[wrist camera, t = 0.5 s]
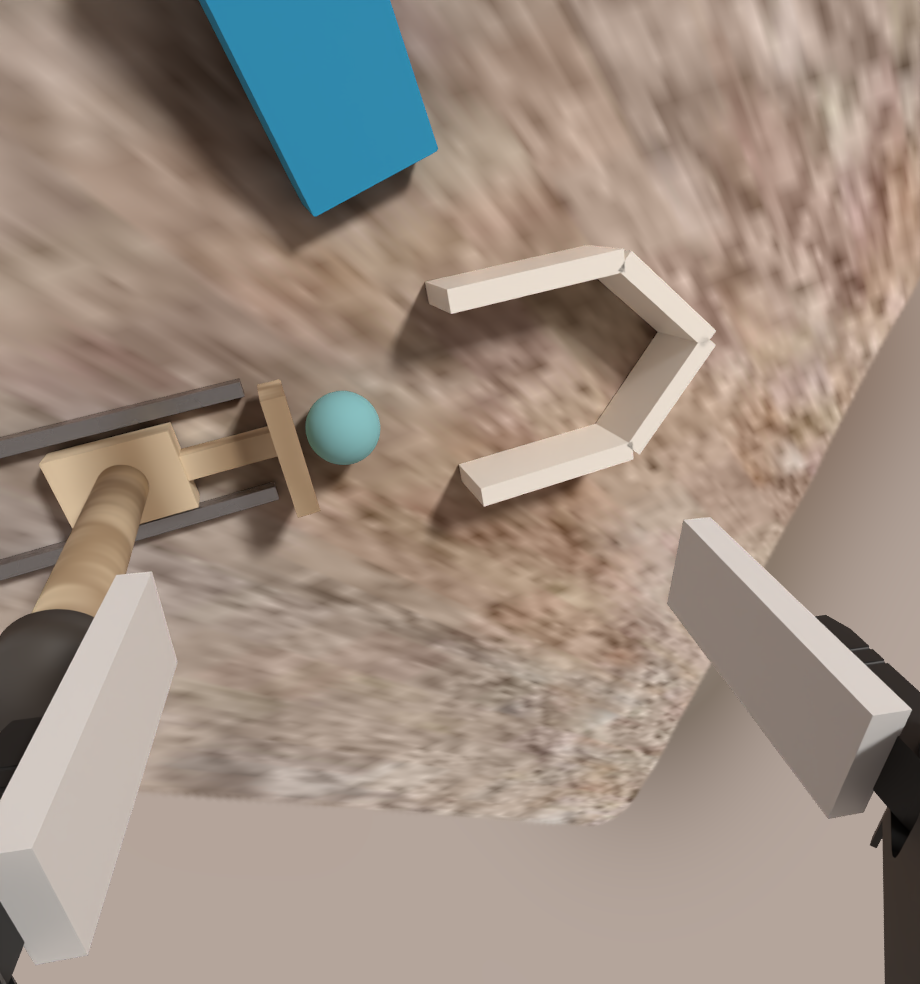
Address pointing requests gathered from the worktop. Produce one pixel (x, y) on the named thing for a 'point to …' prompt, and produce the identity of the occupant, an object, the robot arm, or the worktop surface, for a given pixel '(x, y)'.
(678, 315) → the pocket
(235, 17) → the blue long block
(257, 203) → the worktop surface
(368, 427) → the ball
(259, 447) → the plunger
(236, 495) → the track
